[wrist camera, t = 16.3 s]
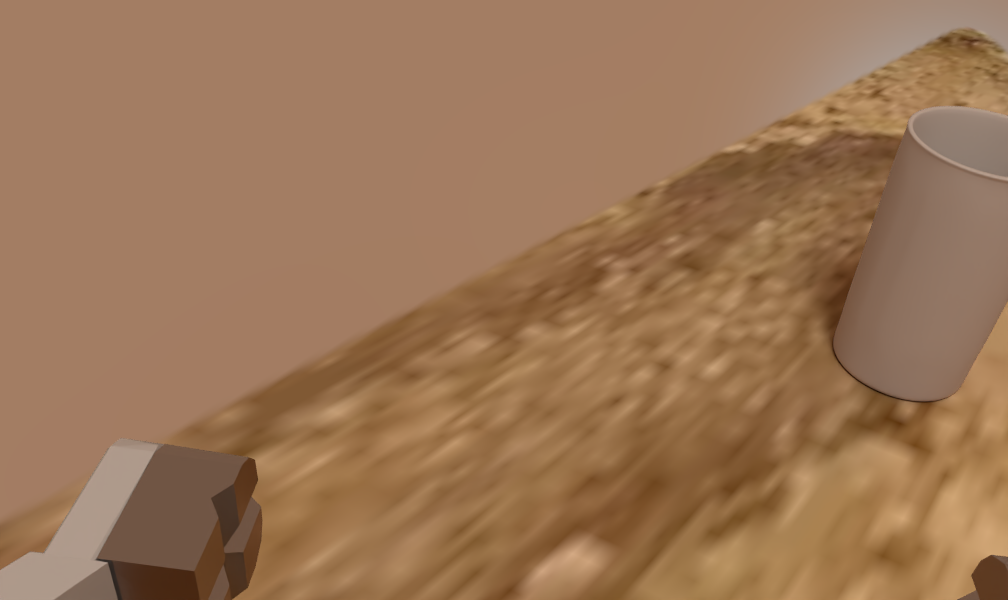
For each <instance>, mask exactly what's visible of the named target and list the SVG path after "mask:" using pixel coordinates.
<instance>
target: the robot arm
mask: <svg viewBox="0 0 1008 600" xmlns="http://www.w3.org/2000/svg"><path fill="white" fill-rule="evenodd" d="M257 481H258V476H257V470H256V464H255V460H254V459H252V458H249V457H243V456H237V455H230V454H224V453H218V452H212V451H205V450H199V449H193V448H186V447H180V446H174V445H168V444H158V443H152V442H145V441H138V440H132V439H124V438H120V439H119V440H118V441H116V442H115V443H114V444H113V445H112V446H110V447H109V448H108V449H107V451H106V453H105V454H104V456H103V457H102V459H101V461H100V462H99V464H98V465H97V467H96V469H95V470H94V472H93V474H92V475H91V477H90V478H89V480H88V482H87V483H86V485H85V487H84V488H83V490H82V491H81V493H80V495H79V496H78V498H77V499H76V501H75V503H74V504H73V506H72V508H71V509H70V511H69V512H68V514H67V516H66V517H65V519H64V521H63V522H62V524H61V525H60V527H59V529H58V530H57V532H56V533H55V535H54V537H53V538H52V540H51V542H50V543H49V545H48V546H47V548H46V550H45V551H44V553H39V552H29V553H27V554H25V555H24V556H22V557H20V558H19V559H17V560H16V561H14V562H12V563H11V564H9V565H7V566H6V567H4V568H3V569H1V570H0V600H232V599H233V598H235V597H236V596H237V595H239V594H240V593H241V592H243V591H244V590H245V589H247V588H248V586H249V583H250V580H251V577H252V575H253V572H254V569H255V566H256V562H257V558H258V553H259V549H260V544H261V537H262V512H261V506H260V505H259V504H258V503H257V502H256V501H255V500H254V499H253V498H252V497H251V496H252V494H253V491H254V489H255V486H256V484H257ZM971 576H972V579H973V582H974V584H975V587H976V591H974V592H972V593H970V594H968V595H966V596H964V597H962V598H960V599H958V600H1008V557H1005V556H996V555H990V556H988V557H987V558H985V559H983V560H981V561H980V563H979V564H978V566H977V567H976V569H975V570H974V572H973V574H972V575H971Z"/></svg>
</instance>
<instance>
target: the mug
mask: <svg viewBox="0 0 1008 600" xmlns="http://www.w3.org/2000/svg"><path fill="white" fill-rule="evenodd" d="M1007 301H1008V116H1007V115H1003V114H1000V113H996V112H992V111H987V110H983V109H977V108H971V107H961V106H938V107H930V108H926V109H923V110H920V111H918V112H916V113H914V114H913V115H912V116H911V117H910V119H909V120H908V125H907V128H906V131H905V133H904V136H903V139H902V141H901V144H900V146H899V149H898V151H897V154H896V157H895V159H894V162H893V165H892V168H891V171H890V173H889V176H888V179H887V182H886V185H885V188H884V191H883V194H882V197H881V200H880V203H879V205H878V208H877V211H876V214H875V217H874V220H873V223H872V226H871V229H870V232H869V235H868V238H867V240H866V243H865V246H864V249H863V252H862V255H861V258H860V261H859V264H858V266H857V269H856V272H855V275H854V278H853V281H852V283H851V286H850V289H849V292H848V295H847V298H846V301H845V305H844V308H843V311H842V314H841V317H840V320H839V323H838V326H837V329H836V331H835V335H834V339H833V347H834V351H835V354H836V356H837V358H838V360H839V361H840V363H841V364H842V365H843V367H844V368H845V369H846V370H847V371H848V372H849V373H850V374H851V375H852V376H854V377H855V378H856V379H858V380H859V381H861V382H862V383H864V384H865V385H867V386H869V387H871V388H872V389H875V390H877V391H879V392H881V393H884V394H886V395H889V396H892V397H896V398H900V399H904V400H910V401H920V402H927V401H936V400H941V399H944V398H947V397H949V396H951V395H952V394H954V393H955V392H956V391H957V390H958V389H959V388H960V387H961V385H962V383H963V382H964V380H965V378H966V376H967V374H968V372H969V371H970V369H971V367H972V365H973V363H974V361H975V360H976V358H977V356H978V354H979V353H980V351H981V349H982V348H983V346H984V344H985V342H986V341H987V339H988V337H989V335H990V333H991V331H992V329H993V327H994V326H995V324H996V322H997V320H998V318H999V316H1000V314H1001V312H1002V311H1003V309H1004V307H1005V305H1006V303H1007Z"/></svg>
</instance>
